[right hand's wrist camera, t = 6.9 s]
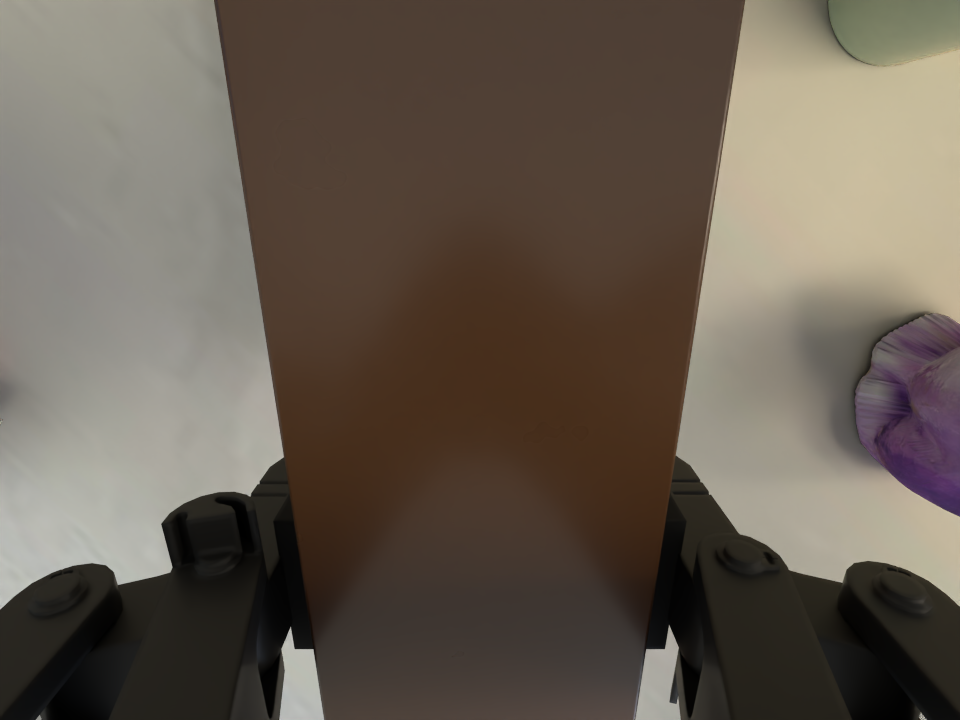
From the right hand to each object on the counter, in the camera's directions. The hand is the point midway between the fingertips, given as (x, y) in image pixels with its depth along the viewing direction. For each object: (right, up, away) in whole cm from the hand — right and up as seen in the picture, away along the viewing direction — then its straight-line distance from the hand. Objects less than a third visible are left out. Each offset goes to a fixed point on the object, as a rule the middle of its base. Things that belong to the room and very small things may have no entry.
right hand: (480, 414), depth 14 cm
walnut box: (0, +8, -2) cm, 8 cm away
